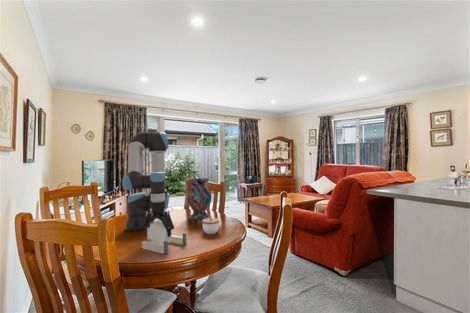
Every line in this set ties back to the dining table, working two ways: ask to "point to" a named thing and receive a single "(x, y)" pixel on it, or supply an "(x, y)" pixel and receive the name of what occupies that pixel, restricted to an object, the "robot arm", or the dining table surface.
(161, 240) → the cup
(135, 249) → the dining table surface
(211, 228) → the lidded jar
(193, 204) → the vase
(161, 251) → the pair of white bars
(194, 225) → the dining table surface
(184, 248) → the dining table surface
